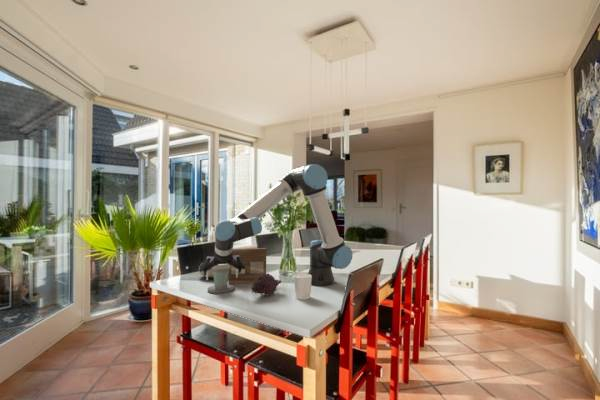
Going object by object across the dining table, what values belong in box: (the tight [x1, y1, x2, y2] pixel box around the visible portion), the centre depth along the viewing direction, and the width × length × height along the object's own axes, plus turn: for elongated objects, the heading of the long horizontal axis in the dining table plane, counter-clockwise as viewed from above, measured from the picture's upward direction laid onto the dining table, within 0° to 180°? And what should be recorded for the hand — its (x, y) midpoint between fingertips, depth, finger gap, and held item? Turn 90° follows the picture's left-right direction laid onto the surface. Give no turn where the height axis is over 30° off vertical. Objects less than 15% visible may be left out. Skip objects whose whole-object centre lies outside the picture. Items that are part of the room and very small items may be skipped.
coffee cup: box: [213, 263, 230, 290], centre depth 147 cm, size 8×9×12 cm
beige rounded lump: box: [198, 260, 214, 279], centre depth 173 cm, size 18×18×10 cm
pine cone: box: [250, 273, 282, 296], centre depth 139 cm, size 18×10×10 cm, turn 140°
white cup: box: [294, 273, 312, 301], centre depth 136 cm, size 8×8×10 cm
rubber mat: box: [207, 284, 236, 295], centre depth 147 cm, size 13×13×1 cm
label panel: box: [228, 247, 267, 285], centre depth 162 cm, size 6×20×18 cm, turn 102°
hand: (222, 276), depth 142 cm, fingers open, 13 cm apart
